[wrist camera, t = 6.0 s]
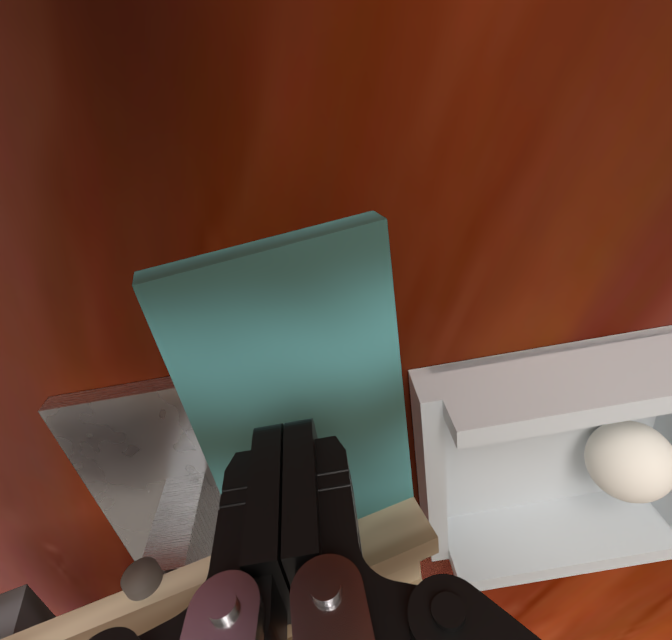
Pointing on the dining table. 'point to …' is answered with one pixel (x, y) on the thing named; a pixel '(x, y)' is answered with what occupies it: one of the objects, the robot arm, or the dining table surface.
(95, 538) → the dining table surface
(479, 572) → the tray
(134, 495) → the lever stand
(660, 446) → the ball
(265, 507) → the robot arm
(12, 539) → the dining table surface
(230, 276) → the lever
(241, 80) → the dining table surface
